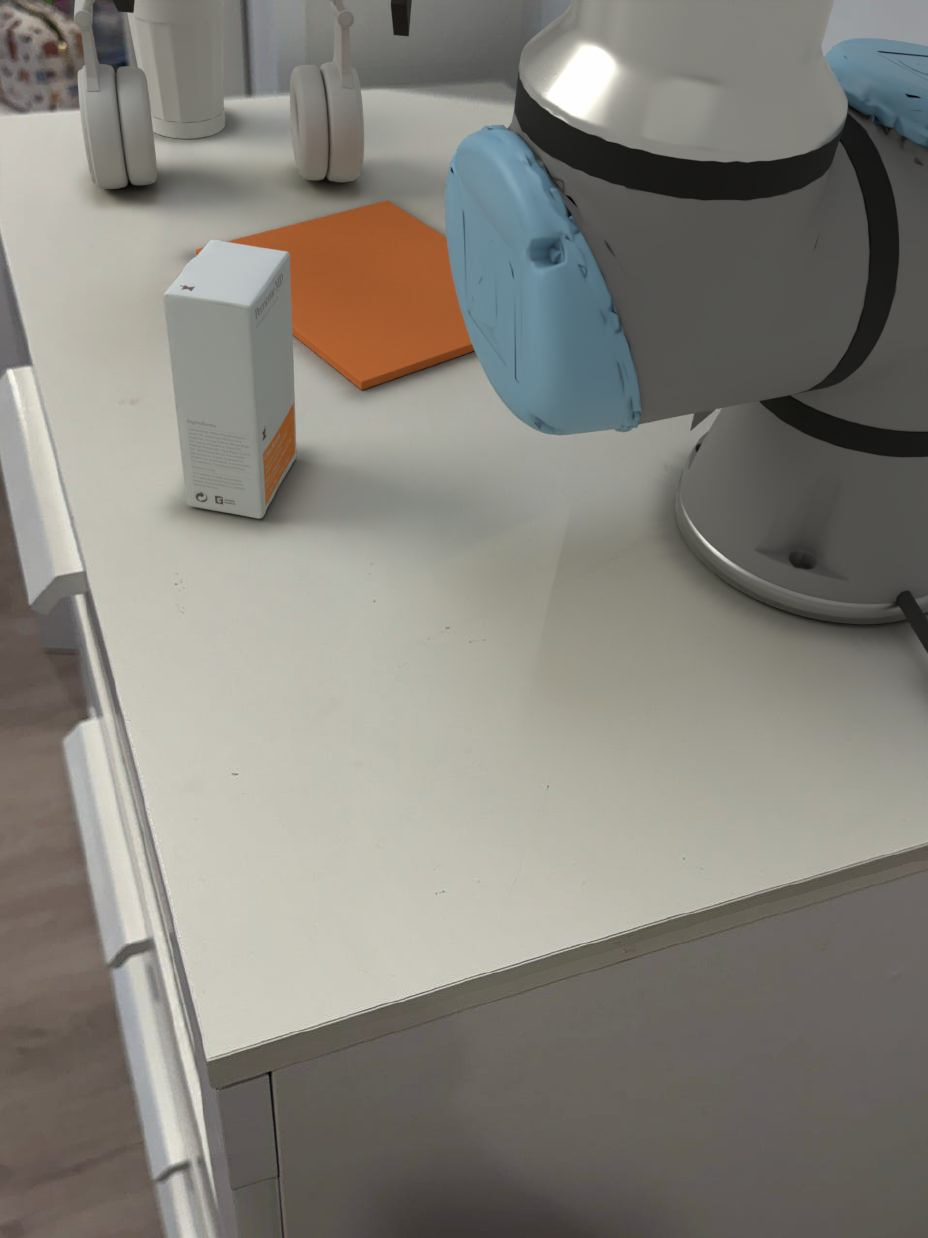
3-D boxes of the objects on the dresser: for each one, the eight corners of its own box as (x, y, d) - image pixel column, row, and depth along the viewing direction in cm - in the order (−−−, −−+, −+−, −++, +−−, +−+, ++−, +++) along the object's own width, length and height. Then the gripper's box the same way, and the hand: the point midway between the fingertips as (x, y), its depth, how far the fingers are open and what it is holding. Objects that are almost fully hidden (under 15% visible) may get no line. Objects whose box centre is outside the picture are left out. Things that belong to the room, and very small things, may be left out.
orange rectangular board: (563, 320, 77) (564, 311, 77) (361, 390, 69) (361, 381, 69) (387, 207, 88) (387, 199, 88) (196, 257, 81) (195, 248, 80)
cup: (226, 145, 95) (214, -18, 87) (127, 138, 95) (105, -26, 87) (242, 109, 101) (232, -47, 93) (149, 103, 101) (130, -55, 92)
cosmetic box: (265, 522, 60) (249, 307, 52) (185, 508, 60) (157, 293, 52) (301, 456, 64) (292, 248, 56) (226, 443, 65) (207, 235, 57)
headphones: (92, 208, 85) (44, -98, 72) (93, 162, 91) (48, -129, 78) (366, 200, 89) (368, -92, 76) (350, 155, 95) (349, -122, 82)
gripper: (546, -331, 61) (513, 69, 60) (67, -373, 61) (28, 28, 60) (559, -470, 54) (521, -14, 53) (13, -518, 53) (-32, -62, 53)
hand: (259, 9), depth 57 cm, fingers open, 13 cm apart
